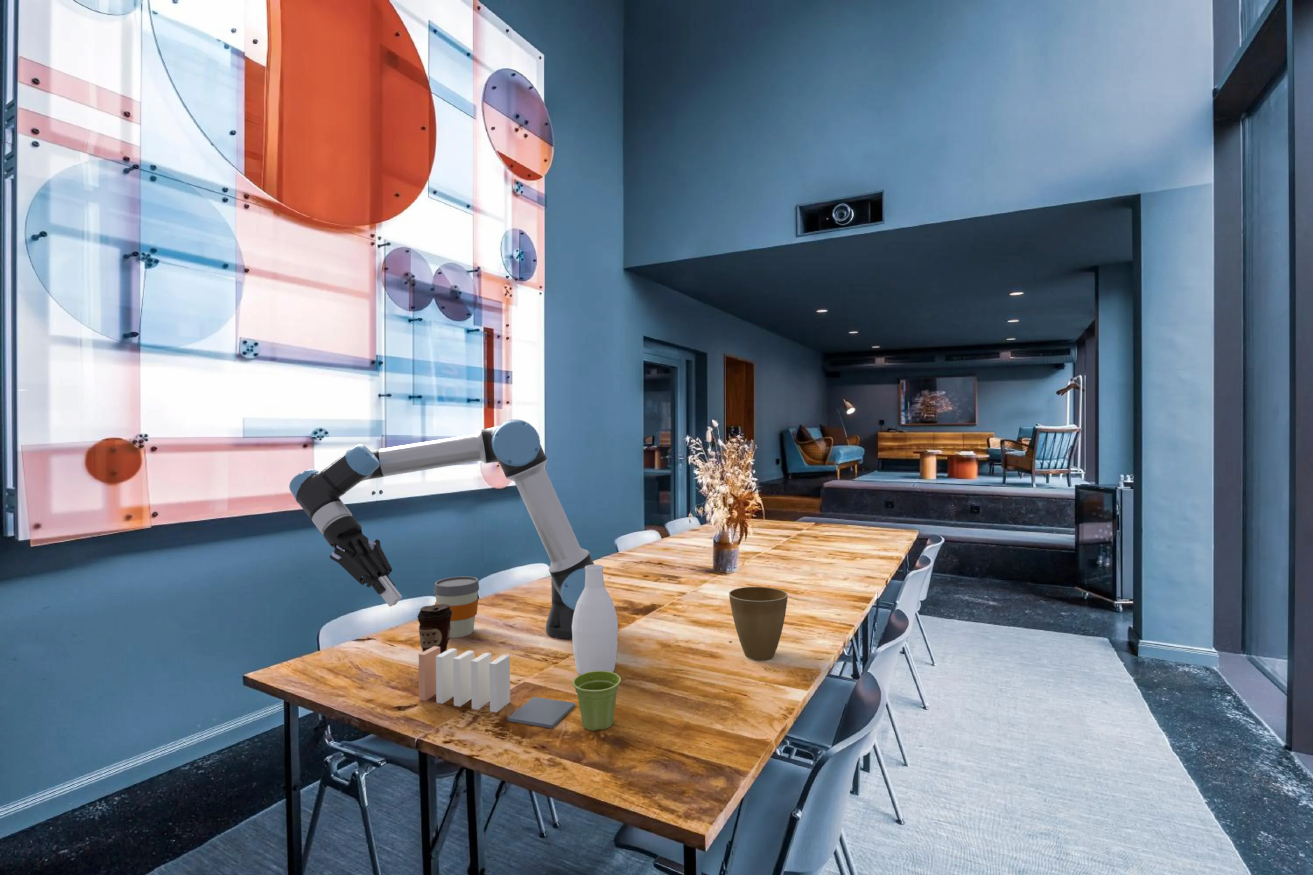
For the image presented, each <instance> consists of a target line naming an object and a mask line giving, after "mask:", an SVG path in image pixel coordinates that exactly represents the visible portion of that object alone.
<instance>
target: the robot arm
mask: <svg viewBox="0 0 1313 875" xmlns="http://www.w3.org/2000/svg"><path fill="white" fill-rule="evenodd" d="M475 462H482V463H484V464H486V465H487V464H490V463H499V466H500V468H501V470H502V472H503V474H504V476H505V479H507V480H509V481H513V482H514V484H515V486H516V488H517V490H518V492H519V495H520V497H521V499H522V501H523V504H524V506H525V507H526V510H527V512H528V514H529V517H530V519H531V521H532V523H533V524H534V527H535V529H536V532H537V533H538V536H539V538H540V540H541V543H542V545H543V547H544V549H545V551H546V554H547V556H548V558H549V560H550V566H549V567H548V572H549V573H550V576H551V578H550V580H551V584H550V585H551V607H550V609H549V613H548V617H547V619H546V623H545V633H546V635H548V636H550V637H552V638H557V639H572V622H573V614H574V611H575V607H576V604H577V601H578V599H579V597H580V595H581V594H582V592H583V590H584V588H585V571H586V570H585V566H587V565H595V562H594V560H593V558H592V555H591V554H592V553H591V552H590V551H589V550H587V549H585V548H583V547H581V546H580V544H579V541H578V539H577V536H576V535H575V533H574V531H573V530H574V529H573V527H572V525H571V523H570V521H569V519H568V516H567V514H566V512H565V510H564V508H563V506H562V503H561V501H560V499H559V497H558V495H557V493H556V490H555V488H554V486H553V483H552V481H551V479H550V477H549V475H548V472H547V471H546V465H547V463H548V459H547V456H546V454H545V452H544V449H543V447H542V445H541V438H540V434H539V433H538V431H537V430H536V428H535V427H534V426H533V425H532V424H531V423H529V422H527V421H525V420H521V419H509V420H506V421H504V422H502V423H500V424H499V425H496V426H493V427H488V428H484V429H479V430H478V431H477V433H475V434H469V435H467V434H466V435H460V436H454V437H449V438H442V439H436V440H429V441H423V442H422V441H421V442H415V443H410V444H405V445H404V444H402V445H397V446H391V447H384V448H378V449H372V450H370V449H369V448H368V447H367V446H366V445H364V444H361V443H358V444H356V445H355V446H354V447H352V448H350V449H348V450H347V451H346V452H345V453H343V454H342V455H341V456H340V457H338V458H337V459H336V460H334V461H333V462H332V463H331V464H329V465H328V466H326V467H325V468H324V469H322V470H320V471H319V470H317V469H306V470H304V471H303V472H299V473H298V474H296V475H295V476H293V478H292V479H291V480H290V482H289V491H290V492H291V494H292V495H293V497H294V499H295V501H296V502H297V503H298V505H299V506H300V507H301V509H303V511H304V512H305V513H306V515H307V516H308V517H309V518H310V520H311V521H312V523H313V524H314V525H315V527H316V528H317V529H318V531H319V532H320V533H321V535H322V536H323V538H324V539H325V541H326V542H327V543H328V544H329V546H330V547H331V548H334V550H333V551H332V552H331V554H330V555H329V558H330V559H331V560H332V561H334V562H336V563H337V564H339V565H340V566H341V567H342V568H343V569H344V570H345V571H346V572H348V574H349V575H350V576H351V577H352V578H353V579H354V580H356V581H357V582H358V583H359V584H360V585H362V586H363V585H365V584H366V586H365V587H367V588H370V587H372V588H373V589H374V591H375V592H376V593H377V594H378V595H380V596H381V598H382V599H383V600H384V602H385V603H386V604H387V605H388V607H390V608H391V607H392V606H396V605H397V603H399V601H400V600H401V599H402V598H403V596H402V594H401V593H400V592H399V591H398V589H397V588H396V584H395V583H394V582H393V581H392V579H391V578H390V577H389V576H390V574H391V573H392V571H393V568H392V567H391V564H390V563H389V561H388V559H387V557H386V555H385V552H384V550H383V548H382V546H381V541H380V540H379V539H375V540H370V539H369V538H368V537H367V536H366V535H365V534H363V531H362V530H363V528H362V525H361V524H360V523H359V522H358V520H357V519H356V518H355V516H353V514H352V512H351V511H350V510H349V509H348V507H347V506H346V505H345V504H344V502H343V501H342V499H341V497H342V496H344V495H345V494H346V493H348V491H350V490H351V489H353V488H354V487H356V486H357V485H358V484H360V483H361V482H364V481H367V480H374V479H379V478H383V477H385V478H386V477H389V476H397V475H402V474H408V473H415V472H420V471H427V470H433V469H439V468H440V469H441V468H444V467H445V468H446V467H450V466H451V467H452V466H456V465H464V464H470V463H475ZM604 587H605V588H606V586H605V584H604Z"/></svg>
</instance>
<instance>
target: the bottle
mask: <svg viewBox="0 0 1313 875" xmlns="http://www.w3.org/2000/svg"><path fill="white" fill-rule="evenodd" d="M585 570H586V571H585V588H584V590H583V592H582V594H581V595H580V597H579V599H578V601H577V604H576V607H575V611H574V614H573V622H572V638H571V640H572V651H573V656H574V657H573V658H574V663H575V670H576V672H577V674H578V676H579V675H581V674H583V673H587V672H591V671H609V672H613V673H614V671H615V668H616V660H617V654H618V644H619V643H618V639H619V638H618V636H619V621H618V616H617V610H616V608H615V604H614V602H613V599H612V597H611V595H610V594H609V593H608V590H607V589H606V586H605V587H604V585H605V580H604V565H603V564H594V565H587V566H585Z"/></svg>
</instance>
